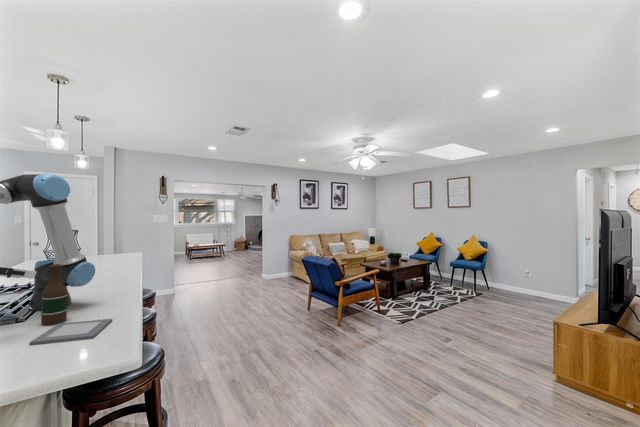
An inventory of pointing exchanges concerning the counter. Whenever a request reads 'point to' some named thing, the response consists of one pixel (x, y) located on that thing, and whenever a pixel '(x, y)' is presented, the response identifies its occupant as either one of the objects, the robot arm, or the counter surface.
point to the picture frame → (72, 331)
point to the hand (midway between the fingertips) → (27, 274)
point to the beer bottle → (54, 299)
